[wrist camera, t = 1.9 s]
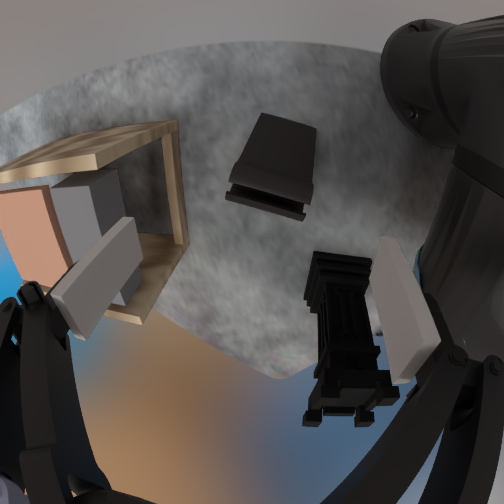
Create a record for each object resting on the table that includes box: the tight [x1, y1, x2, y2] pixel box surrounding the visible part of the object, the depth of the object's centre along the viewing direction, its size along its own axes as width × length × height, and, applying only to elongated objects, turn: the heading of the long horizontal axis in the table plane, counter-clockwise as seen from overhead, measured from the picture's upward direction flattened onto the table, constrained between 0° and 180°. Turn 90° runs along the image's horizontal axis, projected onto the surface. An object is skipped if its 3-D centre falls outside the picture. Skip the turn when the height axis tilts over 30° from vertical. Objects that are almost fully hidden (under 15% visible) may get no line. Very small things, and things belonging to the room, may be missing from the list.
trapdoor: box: [0, 168, 143, 306], centre depth 23 cm, size 18×12×4 cm, turn 90°
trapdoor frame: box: [0, 120, 189, 325], centre depth 28 cm, size 21×17×15 cm
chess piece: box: [302, 251, 400, 427], centre depth 29 cm, size 8×8×20 cm
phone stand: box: [225, 113, 316, 222], centre depth 24 cm, size 9×6×12 cm, turn 166°
